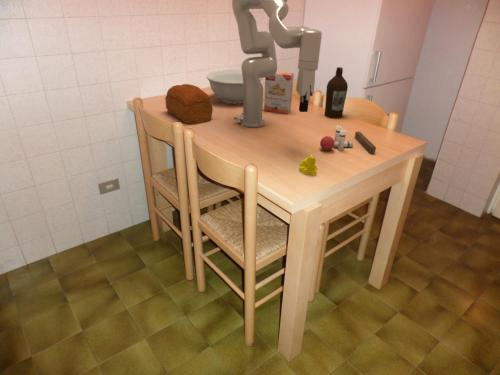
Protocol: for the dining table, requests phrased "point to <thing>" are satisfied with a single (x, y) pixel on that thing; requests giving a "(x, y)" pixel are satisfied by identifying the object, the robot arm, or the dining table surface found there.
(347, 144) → the front pin
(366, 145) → the dark grey bar
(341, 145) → the pin
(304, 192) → the dining table surface
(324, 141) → the ball
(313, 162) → the grapes
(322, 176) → the dining table surface
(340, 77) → the olive oil
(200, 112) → the bread
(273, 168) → the dining table surface
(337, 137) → the pin
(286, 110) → the cracker box
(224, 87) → the bowl
